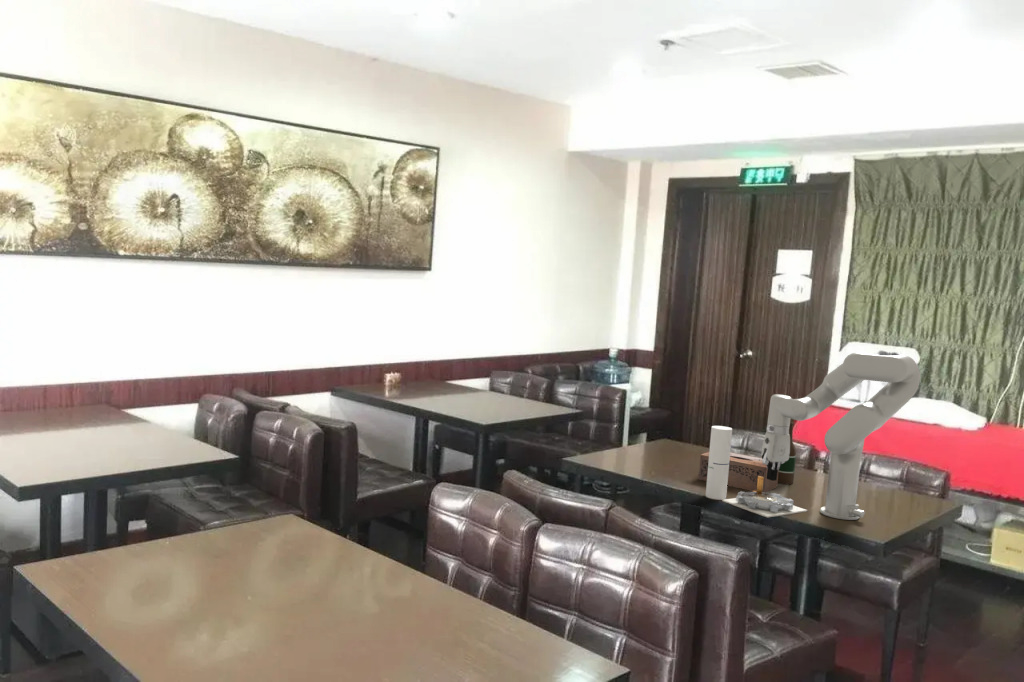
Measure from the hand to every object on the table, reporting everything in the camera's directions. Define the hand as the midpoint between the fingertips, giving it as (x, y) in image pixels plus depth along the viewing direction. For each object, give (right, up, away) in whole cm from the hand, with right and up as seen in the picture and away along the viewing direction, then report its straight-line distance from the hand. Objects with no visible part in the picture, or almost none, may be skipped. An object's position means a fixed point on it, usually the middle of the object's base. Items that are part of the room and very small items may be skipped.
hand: (771, 479), depth 295 cm
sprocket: (-6, -8, -10) cm, 13 cm away
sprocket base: (-6, -8, -10) cm, 13 cm away
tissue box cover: (-6, -5, +22) cm, 23 cm away
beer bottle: (+13, -6, +28) cm, 32 cm away
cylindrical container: (-20, -6, -1) cm, 21 cm away
